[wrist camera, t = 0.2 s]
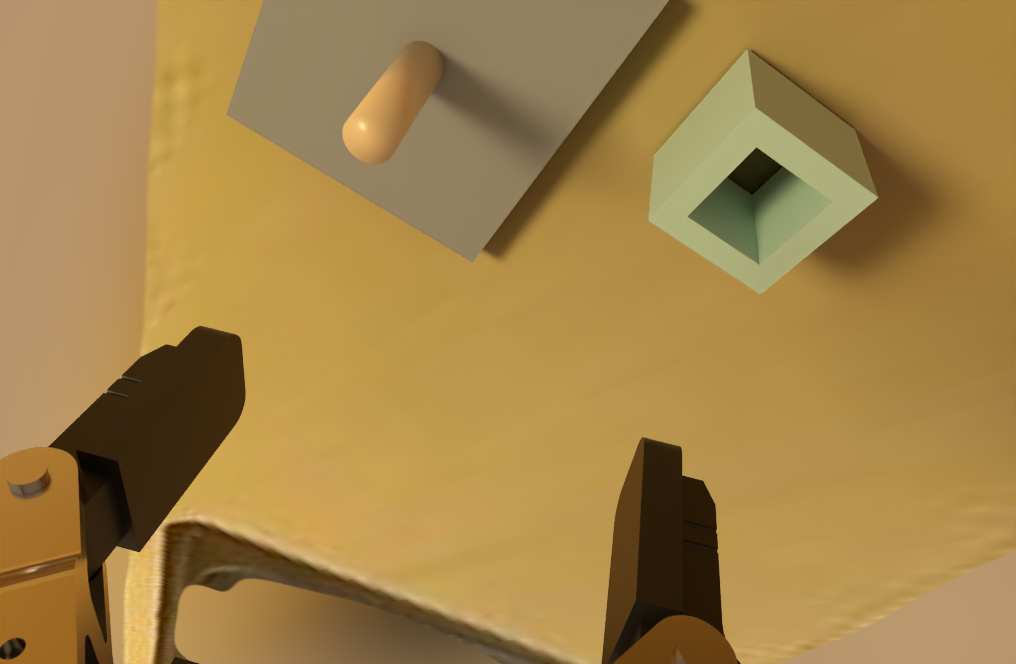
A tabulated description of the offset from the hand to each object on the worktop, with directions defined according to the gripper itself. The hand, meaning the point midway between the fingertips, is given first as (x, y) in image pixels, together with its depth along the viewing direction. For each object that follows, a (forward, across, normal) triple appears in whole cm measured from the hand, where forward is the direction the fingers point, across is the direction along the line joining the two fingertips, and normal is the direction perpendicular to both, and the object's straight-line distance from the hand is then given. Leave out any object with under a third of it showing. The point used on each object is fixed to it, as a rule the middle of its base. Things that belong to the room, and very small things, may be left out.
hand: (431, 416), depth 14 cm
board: (+22, +6, 0) cm, 23 cm away
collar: (+22, -8, +1) cm, 24 cm away
